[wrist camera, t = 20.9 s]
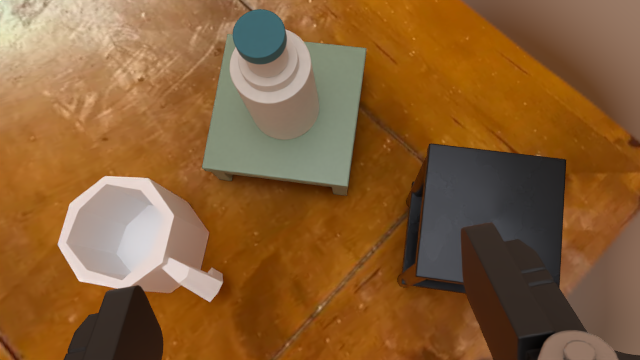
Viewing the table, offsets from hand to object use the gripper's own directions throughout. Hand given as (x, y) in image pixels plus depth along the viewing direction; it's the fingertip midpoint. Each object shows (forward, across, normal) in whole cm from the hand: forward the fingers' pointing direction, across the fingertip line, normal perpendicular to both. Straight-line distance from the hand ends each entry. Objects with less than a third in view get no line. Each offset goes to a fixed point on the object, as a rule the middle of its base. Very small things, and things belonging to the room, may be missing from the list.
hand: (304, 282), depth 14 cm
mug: (+29, +13, +20) cm, 38 cm away
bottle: (+32, +2, +10) cm, 34 cm away
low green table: (+36, +2, +13) cm, 38 cm away
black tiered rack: (+26, -10, +22) cm, 36 cm away
